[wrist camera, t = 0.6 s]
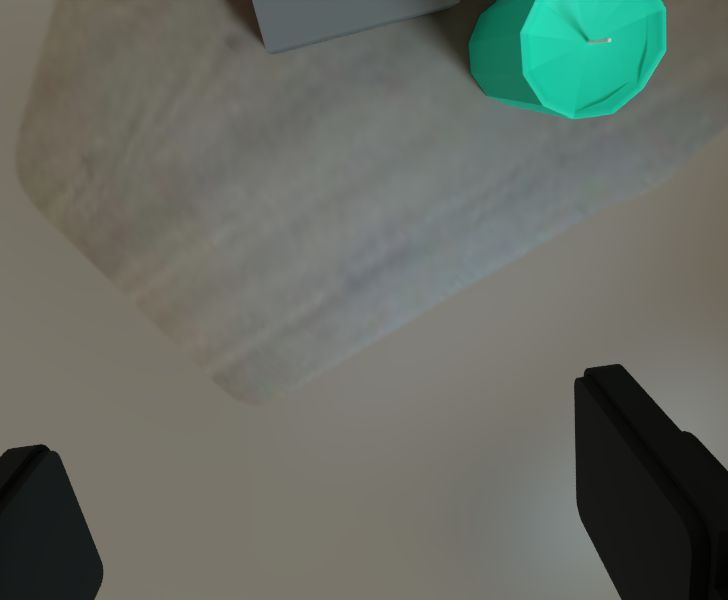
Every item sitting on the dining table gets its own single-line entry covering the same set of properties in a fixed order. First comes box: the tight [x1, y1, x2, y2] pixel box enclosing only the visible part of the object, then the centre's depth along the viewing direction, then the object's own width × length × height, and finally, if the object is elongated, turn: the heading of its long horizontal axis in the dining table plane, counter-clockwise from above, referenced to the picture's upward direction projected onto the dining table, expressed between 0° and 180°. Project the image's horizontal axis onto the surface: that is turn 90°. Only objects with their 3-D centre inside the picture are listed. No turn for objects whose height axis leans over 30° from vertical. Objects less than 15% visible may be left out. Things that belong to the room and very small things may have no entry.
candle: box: [468, 0, 666, 119], centre depth 28 cm, size 6×6×12 cm
